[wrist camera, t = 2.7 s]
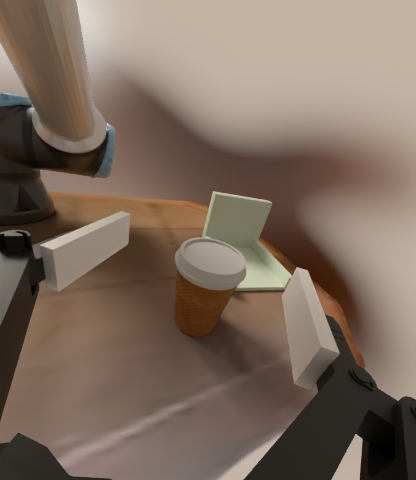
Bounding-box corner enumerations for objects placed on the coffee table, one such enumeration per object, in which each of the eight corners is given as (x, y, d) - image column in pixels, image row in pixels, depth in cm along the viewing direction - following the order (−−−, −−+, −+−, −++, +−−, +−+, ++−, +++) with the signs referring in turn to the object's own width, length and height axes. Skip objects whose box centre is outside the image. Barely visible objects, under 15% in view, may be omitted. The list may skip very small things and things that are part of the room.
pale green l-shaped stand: (200, 243, 54) (213, 191, 48) (250, 246, 59) (268, 200, 53) (222, 290, 39) (245, 224, 33) (287, 289, 44) (317, 232, 38)
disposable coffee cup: (149, 318, 30) (160, 248, 24) (190, 288, 37) (204, 230, 32) (201, 362, 26) (227, 290, 20) (235, 319, 33) (260, 258, 28)
